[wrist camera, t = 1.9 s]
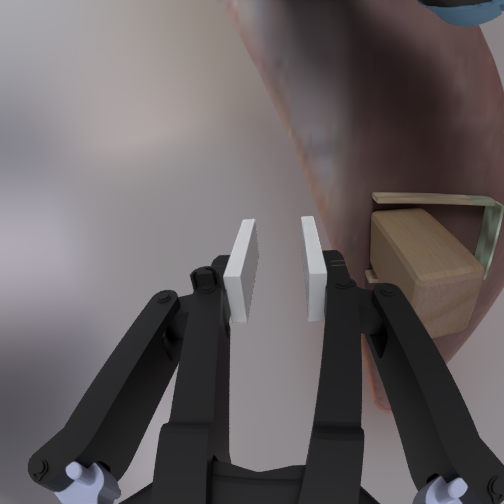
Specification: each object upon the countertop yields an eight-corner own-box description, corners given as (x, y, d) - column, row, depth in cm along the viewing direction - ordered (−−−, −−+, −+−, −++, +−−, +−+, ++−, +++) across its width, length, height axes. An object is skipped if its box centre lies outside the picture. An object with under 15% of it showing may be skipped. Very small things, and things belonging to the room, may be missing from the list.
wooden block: (417, 257, 44) (467, 332, 26) (368, 263, 45) (403, 348, 28) (422, 205, 39) (489, 268, 22) (369, 209, 41) (420, 280, 23)
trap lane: (372, 192, 39) (382, 202, 35) (489, 196, 36) (504, 206, 31) (365, 273, 46) (371, 290, 42) (474, 265, 43) (485, 278, 38)
